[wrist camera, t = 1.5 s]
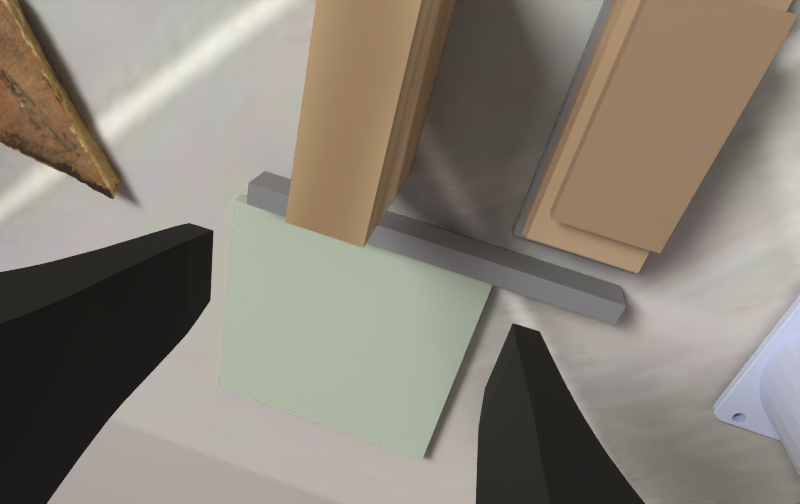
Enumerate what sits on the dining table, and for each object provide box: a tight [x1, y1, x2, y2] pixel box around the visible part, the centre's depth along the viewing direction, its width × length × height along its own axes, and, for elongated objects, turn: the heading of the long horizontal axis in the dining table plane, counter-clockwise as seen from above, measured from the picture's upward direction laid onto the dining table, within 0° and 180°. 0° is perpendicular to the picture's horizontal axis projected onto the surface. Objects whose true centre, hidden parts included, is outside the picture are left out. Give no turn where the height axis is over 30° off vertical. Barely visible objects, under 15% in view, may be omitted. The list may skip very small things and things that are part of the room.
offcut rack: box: [247, 0, 798, 325], centre depth 18 cm, size 16×15×3 cm
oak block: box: [285, 0, 456, 248], centre depth 16 cm, size 2×9×7 cm, turn 166°
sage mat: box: [219, 195, 492, 461], centre depth 26 cm, size 12×12×1 cm
